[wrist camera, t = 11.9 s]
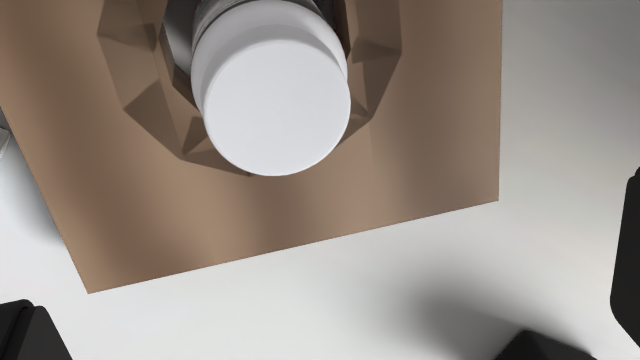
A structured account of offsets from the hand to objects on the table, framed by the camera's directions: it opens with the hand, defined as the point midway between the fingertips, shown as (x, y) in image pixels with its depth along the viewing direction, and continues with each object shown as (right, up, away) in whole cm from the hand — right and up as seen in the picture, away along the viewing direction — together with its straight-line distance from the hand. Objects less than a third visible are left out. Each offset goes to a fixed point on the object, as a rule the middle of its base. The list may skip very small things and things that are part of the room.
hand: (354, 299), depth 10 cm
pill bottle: (-3, +8, +13) cm, 16 cm away
